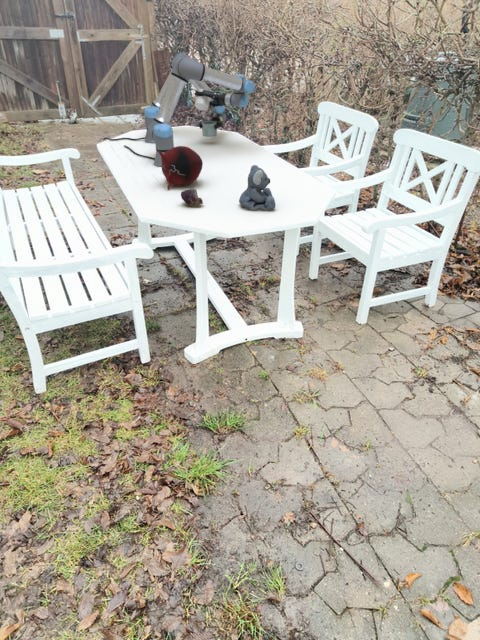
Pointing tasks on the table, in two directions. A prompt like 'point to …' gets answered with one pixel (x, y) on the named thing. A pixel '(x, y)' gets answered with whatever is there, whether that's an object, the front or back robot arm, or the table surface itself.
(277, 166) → the table surface
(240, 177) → the table surface
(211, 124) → the tub
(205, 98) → the grey paneled bucket
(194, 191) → the rock
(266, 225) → the table surface
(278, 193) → the table surface
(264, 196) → the koala plush
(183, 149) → the dark red pot
